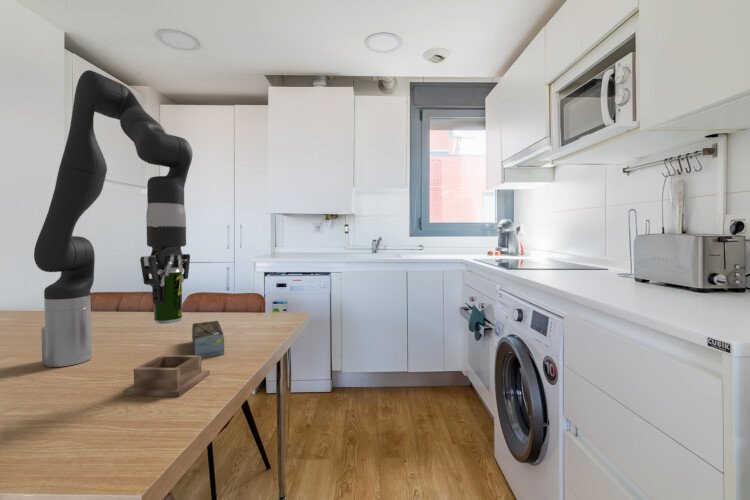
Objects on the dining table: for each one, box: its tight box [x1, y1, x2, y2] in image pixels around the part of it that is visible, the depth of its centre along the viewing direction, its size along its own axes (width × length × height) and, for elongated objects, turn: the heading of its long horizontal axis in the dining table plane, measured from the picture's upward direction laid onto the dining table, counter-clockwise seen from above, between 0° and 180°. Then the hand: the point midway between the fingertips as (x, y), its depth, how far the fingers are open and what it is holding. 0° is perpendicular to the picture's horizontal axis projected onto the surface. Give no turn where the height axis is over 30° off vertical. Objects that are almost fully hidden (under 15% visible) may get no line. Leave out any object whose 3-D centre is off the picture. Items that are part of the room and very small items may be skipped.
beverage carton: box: [191, 320, 225, 359], centre depth 107 cm, size 8×19×7 cm, turn 28°
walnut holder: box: [122, 354, 211, 398], centre depth 79 cm, size 12×12×5 cm
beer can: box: [153, 267, 183, 325], centre depth 79 cm, size 5×5×12 cm
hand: (167, 301), depth 79 cm, fingers closed on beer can, 5 cm apart
